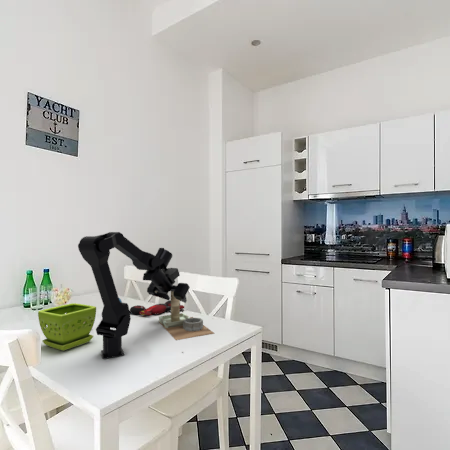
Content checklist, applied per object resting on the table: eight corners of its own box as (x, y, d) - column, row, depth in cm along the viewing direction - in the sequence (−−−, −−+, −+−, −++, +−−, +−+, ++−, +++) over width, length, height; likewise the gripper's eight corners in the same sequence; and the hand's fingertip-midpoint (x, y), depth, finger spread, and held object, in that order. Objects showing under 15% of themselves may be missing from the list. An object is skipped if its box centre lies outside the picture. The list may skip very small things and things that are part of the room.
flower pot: (98, 341, 112) (97, 306, 112) (60, 355, 100) (60, 315, 100) (74, 335, 119) (73, 301, 119) (36, 347, 107) (36, 310, 107)
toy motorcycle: (127, 315, 149) (137, 318, 136) (127, 304, 150) (136, 306, 137) (176, 309, 162) (189, 311, 149) (176, 299, 163) (188, 300, 150)
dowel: (181, 320, 130) (181, 289, 130) (174, 322, 127) (173, 290, 127) (176, 318, 132) (176, 288, 133) (169, 320, 130) (169, 289, 130)
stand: (214, 336, 116) (214, 325, 116) (175, 343, 109) (175, 331, 109) (191, 318, 139) (191, 309, 139) (157, 323, 132) (157, 313, 132)
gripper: (186, 263, 122) (203, 286, 131) (151, 260, 132) (169, 282, 141) (173, 286, 115) (191, 309, 124) (137, 282, 125) (157, 304, 134)
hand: (177, 300), depth 131 cm, fingers open, 9 cm apart
